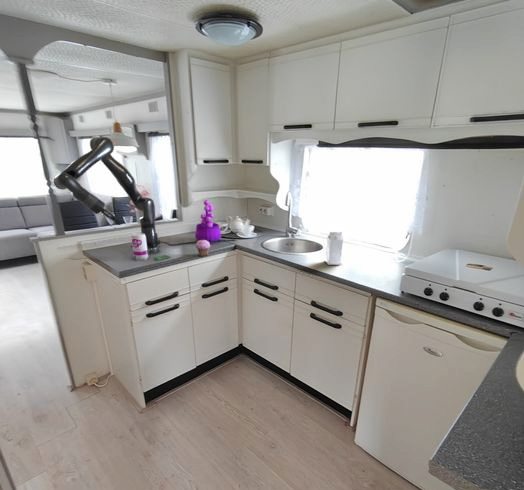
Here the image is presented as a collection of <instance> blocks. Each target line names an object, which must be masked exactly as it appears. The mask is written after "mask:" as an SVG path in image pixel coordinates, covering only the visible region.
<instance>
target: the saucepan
mask: <svg viewBox="0 0 524 490" xmlns="http://www.w3.org/2000/svg"><path fill="white" fill-rule="evenodd" d="M158 245H159V244H158ZM158 245H147V250H148V255H154V254H158V253H159V252H160V248H159V246H160V245H159V246H158ZM130 248H131V249H133V246H132V244H131V245H130Z"/></svg>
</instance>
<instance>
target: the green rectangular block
mask: <svg viewBox="0 0 524 490" xmlns="http://www.w3.org/2000/svg"><path fill="white" fill-rule="evenodd" d="M169 258H170V256H169V255H167V254H163V255H159V256H158V255H157V256H155V257H154V258H153V259H154V260H155V261H162V260H165V259H169Z"/></svg>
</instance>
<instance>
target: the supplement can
mask: <svg viewBox="0 0 524 490" xmlns="http://www.w3.org/2000/svg"><path fill="white" fill-rule="evenodd" d="M130 239H131V245H132V246H133V248H132V252H133V258H134V260H136V261H144V260H148V258H149V254H148V250H147V242H146V236H145V234H144V233H141V232H136V233H132V234H131V238H130Z"/></svg>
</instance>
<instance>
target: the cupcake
mask: <svg viewBox="0 0 524 490" xmlns="http://www.w3.org/2000/svg"><path fill="white" fill-rule="evenodd" d="M197 241H198V240H197ZM210 247H211V243H209V242H208V241H206V240H199V241H198V242H197V243H195V249H197V251H198V255H199V256H200V257H206V256H208V255H209V249H210Z"/></svg>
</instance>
